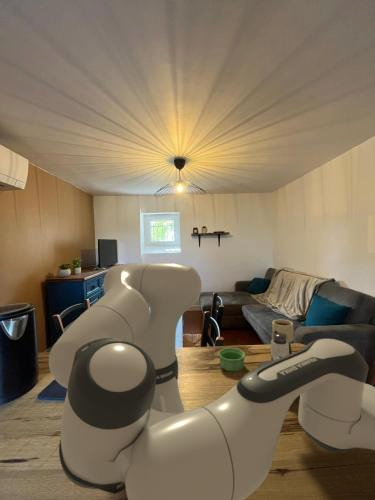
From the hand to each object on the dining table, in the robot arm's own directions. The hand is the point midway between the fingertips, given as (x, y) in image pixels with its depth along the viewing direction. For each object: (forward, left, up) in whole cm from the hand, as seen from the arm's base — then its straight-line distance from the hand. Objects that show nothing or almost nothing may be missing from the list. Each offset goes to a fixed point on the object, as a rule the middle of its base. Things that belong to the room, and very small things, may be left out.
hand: (293, 357), depth 70 cm
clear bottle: (0, +6, -7) cm, 9 cm away
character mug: (+11, +21, -12) cm, 26 cm away
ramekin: (-9, +21, -12) cm, 26 cm away
